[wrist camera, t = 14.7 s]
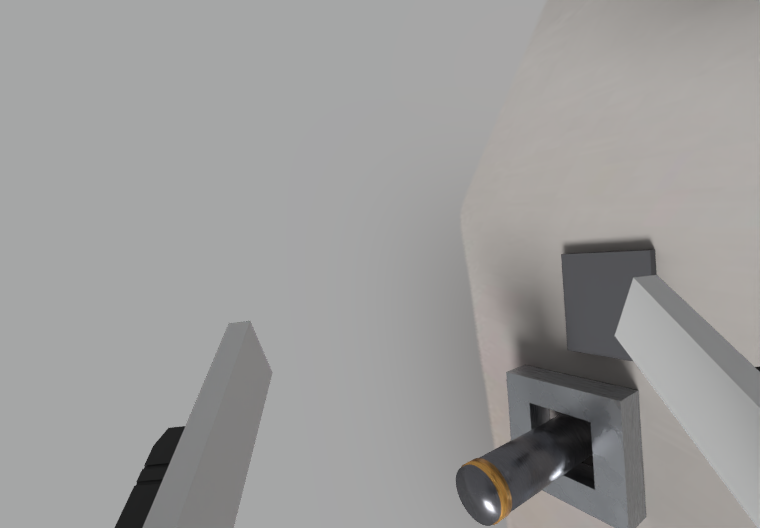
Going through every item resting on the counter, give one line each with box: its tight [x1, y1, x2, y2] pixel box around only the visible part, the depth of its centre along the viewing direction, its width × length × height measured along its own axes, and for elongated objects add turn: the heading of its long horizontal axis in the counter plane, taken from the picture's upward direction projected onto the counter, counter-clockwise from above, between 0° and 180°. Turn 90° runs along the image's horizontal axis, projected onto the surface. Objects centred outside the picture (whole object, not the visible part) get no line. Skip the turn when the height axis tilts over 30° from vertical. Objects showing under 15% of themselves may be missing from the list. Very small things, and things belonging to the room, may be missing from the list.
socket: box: [506, 365, 646, 528], centre depth 40 cm, size 12×12×4 cm
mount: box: [561, 250, 656, 361], centre depth 37 cm, size 10×8×1 cm
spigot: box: [456, 413, 593, 526], centre depth 36 cm, size 5×5×16 cm
